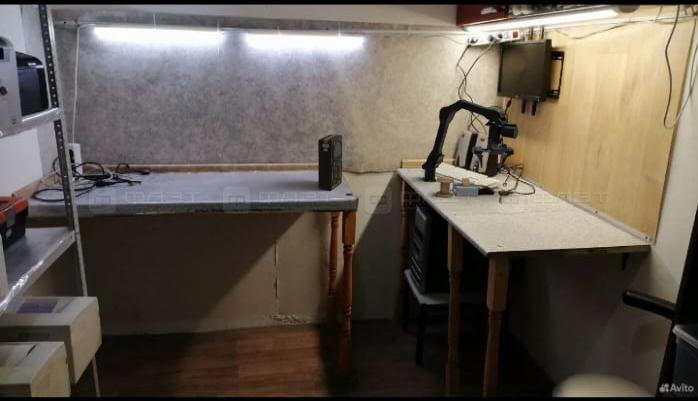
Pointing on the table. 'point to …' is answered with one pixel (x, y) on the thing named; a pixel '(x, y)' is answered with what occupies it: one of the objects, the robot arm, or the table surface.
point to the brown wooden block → (465, 182)
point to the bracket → (465, 189)
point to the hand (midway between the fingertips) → (491, 168)
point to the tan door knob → (444, 187)
